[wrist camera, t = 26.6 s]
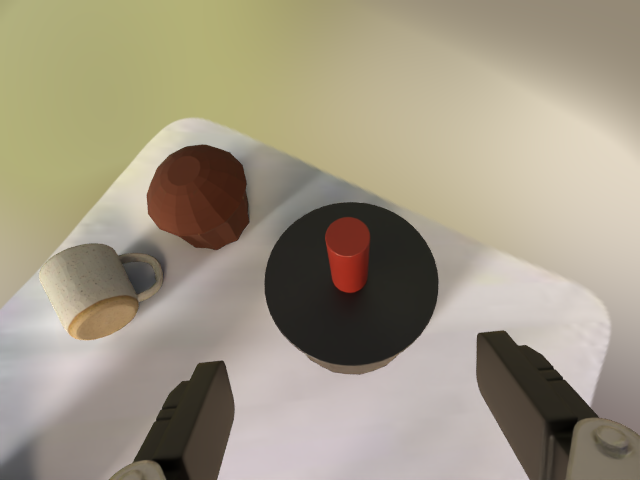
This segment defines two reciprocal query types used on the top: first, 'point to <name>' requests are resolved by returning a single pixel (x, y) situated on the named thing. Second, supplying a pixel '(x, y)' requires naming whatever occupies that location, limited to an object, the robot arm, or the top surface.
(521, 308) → the top surface
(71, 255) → the ceramic mug
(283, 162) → the top surface
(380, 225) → the lid
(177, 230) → the muffin
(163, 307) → the top surface
